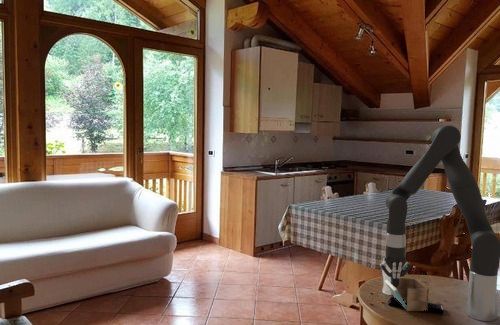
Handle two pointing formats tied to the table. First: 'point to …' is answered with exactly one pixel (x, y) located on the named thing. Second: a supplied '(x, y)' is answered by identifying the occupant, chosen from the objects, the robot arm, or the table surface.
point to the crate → (413, 294)
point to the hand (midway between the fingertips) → (394, 286)
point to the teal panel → (396, 293)
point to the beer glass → (385, 277)
